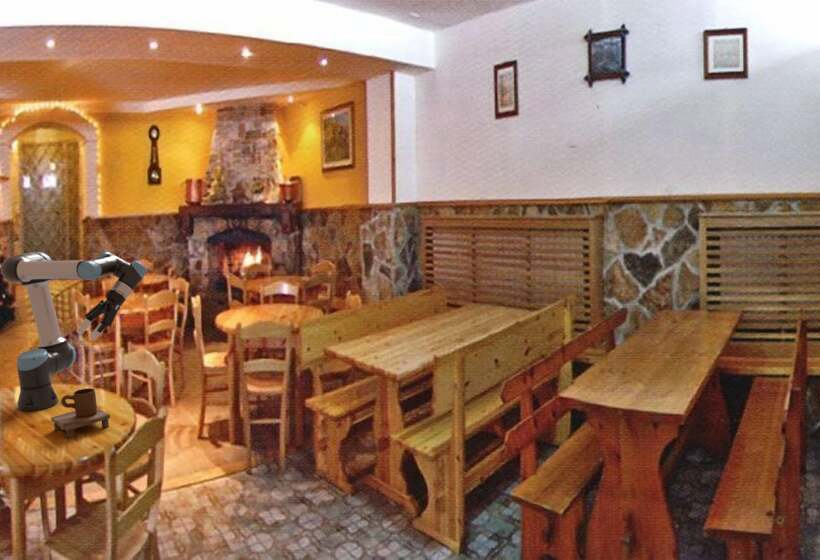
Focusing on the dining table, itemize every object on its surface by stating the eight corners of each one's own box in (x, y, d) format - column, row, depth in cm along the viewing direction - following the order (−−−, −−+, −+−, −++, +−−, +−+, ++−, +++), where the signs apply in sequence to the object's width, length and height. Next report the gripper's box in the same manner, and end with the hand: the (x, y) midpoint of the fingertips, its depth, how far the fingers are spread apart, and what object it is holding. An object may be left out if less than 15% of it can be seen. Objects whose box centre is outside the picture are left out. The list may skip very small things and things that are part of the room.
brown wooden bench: (52, 429, 251) (51, 417, 251) (94, 417, 263) (93, 405, 262) (67, 439, 242) (66, 427, 241) (111, 426, 253) (109, 414, 252)
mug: (64, 422, 245) (61, 398, 244) (61, 416, 252) (59, 393, 250) (98, 415, 252) (96, 391, 251) (95, 409, 258) (93, 386, 257)
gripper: (139, 302, 266) (105, 345, 258) (112, 295, 283) (80, 336, 274) (125, 291, 261) (90, 335, 253) (98, 285, 278) (65, 326, 269)
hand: (85, 335), depth 264 cm, fingers open, 13 cm apart
